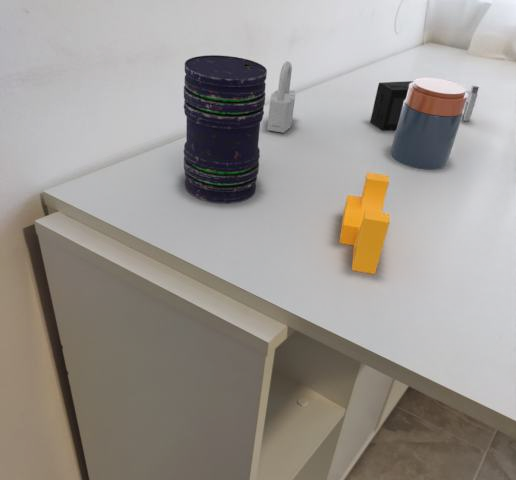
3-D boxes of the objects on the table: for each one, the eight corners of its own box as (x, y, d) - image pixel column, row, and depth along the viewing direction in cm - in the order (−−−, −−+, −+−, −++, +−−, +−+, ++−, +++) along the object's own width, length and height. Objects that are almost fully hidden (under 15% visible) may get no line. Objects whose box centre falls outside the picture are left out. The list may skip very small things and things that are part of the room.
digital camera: (386, 134, 94) (396, 91, 89) (369, 122, 97) (378, 81, 93) (433, 130, 98) (445, 89, 93) (415, 119, 101) (426, 79, 96)
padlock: (273, 117, 95) (279, 55, 88) (295, 121, 94) (303, 58, 88) (263, 130, 90) (269, 65, 83) (286, 134, 89) (295, 69, 83)
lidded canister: (441, 150, 90) (463, 80, 83) (451, 172, 84) (477, 98, 76) (387, 143, 90) (404, 73, 83) (393, 165, 83) (413, 91, 76)
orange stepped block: (342, 217, 69) (352, 169, 65) (375, 223, 69) (388, 175, 64) (336, 267, 60) (348, 215, 56) (374, 274, 60) (389, 222, 55)
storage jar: (204, 209, 67) (208, 82, 57) (171, 177, 73) (169, 57, 63) (270, 196, 72) (284, 76, 62) (234, 166, 78) (241, 53, 68)
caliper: (468, 124, 102) (480, 89, 98) (462, 123, 102) (474, 88, 98) (455, 92, 117) (465, 61, 113) (450, 91, 117) (460, 60, 113)
